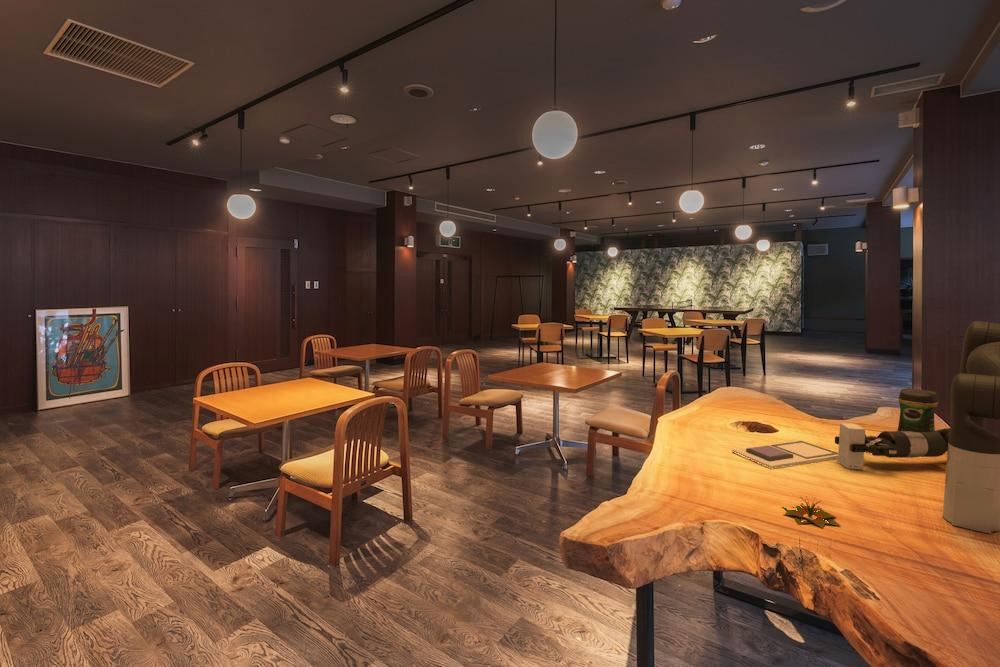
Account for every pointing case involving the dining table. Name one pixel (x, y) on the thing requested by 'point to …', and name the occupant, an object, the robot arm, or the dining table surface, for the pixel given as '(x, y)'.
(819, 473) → the dining table surface
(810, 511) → the green leafy piece
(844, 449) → the skincare box
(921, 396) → the coffee jar
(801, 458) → the board
